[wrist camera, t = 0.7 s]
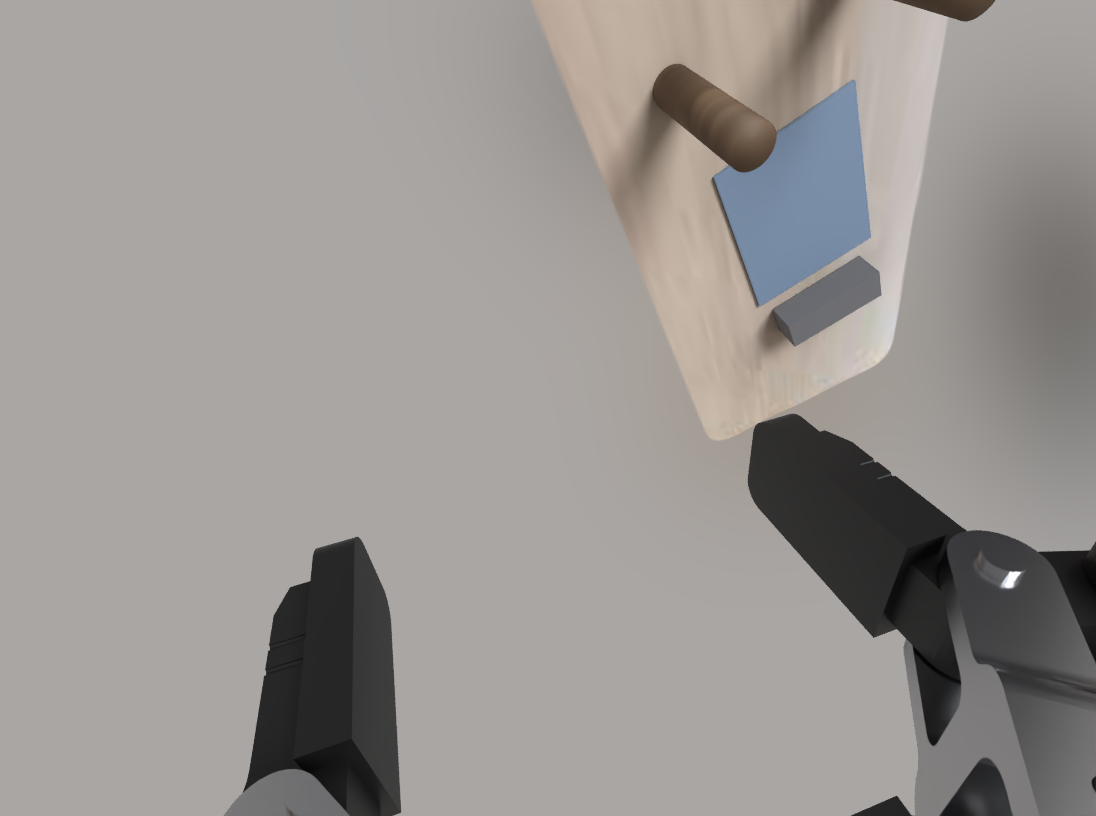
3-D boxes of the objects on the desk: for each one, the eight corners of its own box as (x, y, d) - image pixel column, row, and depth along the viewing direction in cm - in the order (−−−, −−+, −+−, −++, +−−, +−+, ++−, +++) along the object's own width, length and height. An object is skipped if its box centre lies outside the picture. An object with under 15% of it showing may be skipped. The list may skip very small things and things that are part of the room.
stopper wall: (772, 309, 48) (788, 326, 46) (859, 255, 46) (879, 271, 44) (779, 329, 50) (794, 346, 48) (862, 279, 48) (881, 295, 46)
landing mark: (712, 177, 37) (714, 178, 37) (853, 79, 35) (855, 80, 34) (758, 305, 47) (759, 306, 47) (869, 236, 45) (870, 237, 44)
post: (647, 82, 31) (723, 142, 25) (684, 54, 31) (771, 108, 25) (661, 118, 33) (736, 182, 27) (696, 92, 32) (780, 151, 26)
